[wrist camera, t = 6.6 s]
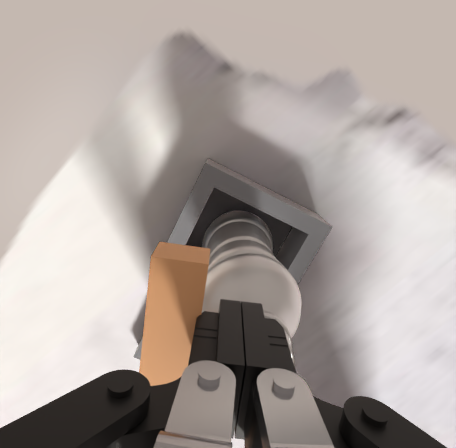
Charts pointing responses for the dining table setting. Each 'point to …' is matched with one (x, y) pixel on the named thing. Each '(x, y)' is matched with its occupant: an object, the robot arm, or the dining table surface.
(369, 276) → the dining table surface
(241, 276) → the plastic bottle
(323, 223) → the plug dock
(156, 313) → the slender peach stick
